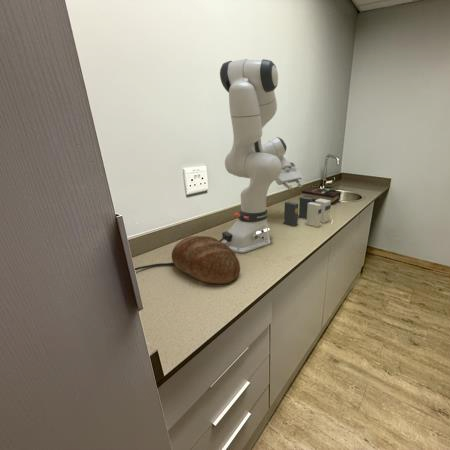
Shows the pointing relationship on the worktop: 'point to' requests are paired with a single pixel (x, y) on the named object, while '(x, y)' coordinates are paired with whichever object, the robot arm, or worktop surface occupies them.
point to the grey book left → (291, 213)
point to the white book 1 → (313, 214)
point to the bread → (206, 259)
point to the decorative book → (322, 194)
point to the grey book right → (304, 206)
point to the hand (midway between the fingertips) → (295, 188)
